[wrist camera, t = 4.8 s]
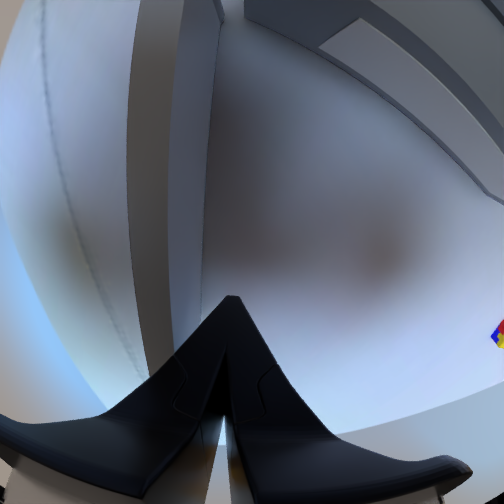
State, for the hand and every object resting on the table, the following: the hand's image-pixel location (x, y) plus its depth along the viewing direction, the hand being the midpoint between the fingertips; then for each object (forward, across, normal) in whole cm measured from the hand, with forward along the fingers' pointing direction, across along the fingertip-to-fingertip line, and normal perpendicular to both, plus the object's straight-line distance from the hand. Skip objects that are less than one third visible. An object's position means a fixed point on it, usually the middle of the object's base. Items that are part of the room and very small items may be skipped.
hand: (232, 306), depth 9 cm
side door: (+3, +2, -3) cm, 5 cm away
